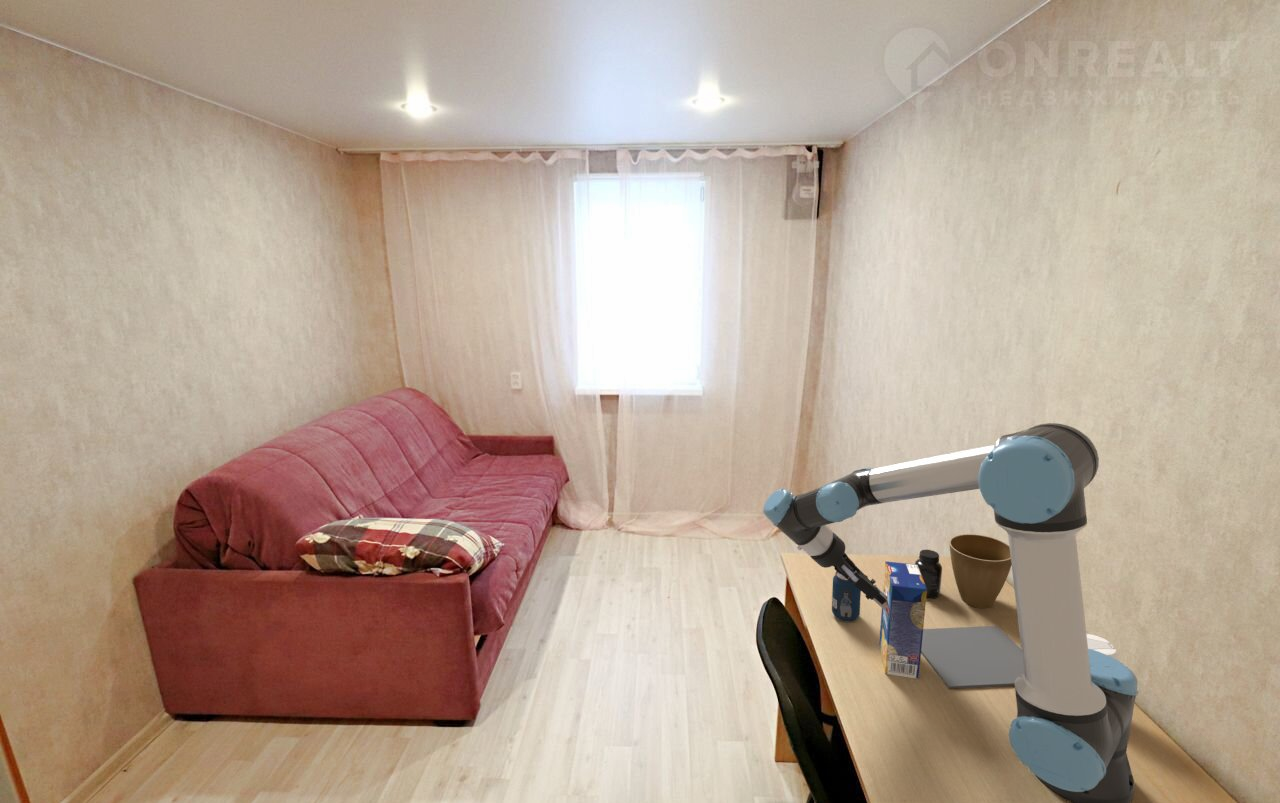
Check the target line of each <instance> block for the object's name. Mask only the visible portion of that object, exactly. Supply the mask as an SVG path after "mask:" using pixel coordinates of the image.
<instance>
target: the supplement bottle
mask: <svg viewBox="0 0 1280 803" xmlns="http://www.w3.org/2000/svg"><path fill="white" fill-rule="evenodd" d="M914 564H916V565H918V568H919V570H920V573H921V575H922V578H923V580H924V583H925V586H926V588H927V595H926V599H930V600H931V599H936V598H938V597H939V596H940V595H941V594H940V593H941V585H942V576H943V575H942V574H943V566H942V564H941V563H940V554H939V553H938V552H937V551H935V550H932V549H921V550H920V552H919V557H918V558H917V559H916V560H915V562H914Z"/></svg>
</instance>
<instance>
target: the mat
mask: <svg viewBox="0 0 1280 803" xmlns="http://www.w3.org/2000/svg"><path fill="white" fill-rule="evenodd" d="M921 656H923V657H924V659H925V660H926V661H927V663H928V664H929V665H930V666H931V668H932V669H933V670H934V672H935V673H936V675H937V676H938V677H939V679H941V681H942V682H943V684H944V685H945V687H946V688H947V689H948V690H949V689H950V690H953V689H954V690H955V689H969V688H971V689H973V688H975V689H976V688H995V687H996V688H997V687H1012V686H1013V687H1015V680H1016V678H1017V677H1018V676H1019V675H1020V674H1022V673H1023V672H1024V666H1023V658H1022V649H1021V646H1019V645H1018V644H1016V642H1014V641H1013V639H1012V638H1011V637H1009V636H1008V635H1007V634H1006V633H1005V632H1004V631H1003V630H1002V629H1001V628H999V626H998V625H985V626H983V625H982V626H979V625H978V626H965V627H960V626H959V627H941V628H939V627H938V628H923V637H922V648H921Z"/></svg>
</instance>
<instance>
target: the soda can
mask: <svg viewBox="0 0 1280 803" xmlns="http://www.w3.org/2000/svg"><path fill="white" fill-rule="evenodd" d="M861 592H862V591H861V590H859V589H858V588H857V587H856V586H855V585H853V584H852V583H850V582H849V581H848V580H847V579H846V578H845V577H844V576H843V575H842V574H839V573H838V572H837V571H836V570H835V574H834V575H833V577H832V592H831V597H832V598H831V612H832V614H833V616H834V617H835V618H836V619H837V620H839V621H842V622H843V623H844V622H845V623H851V622H856V621H857V619H858V618H859V617H860V614H861V596H862V595H861Z"/></svg>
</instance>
